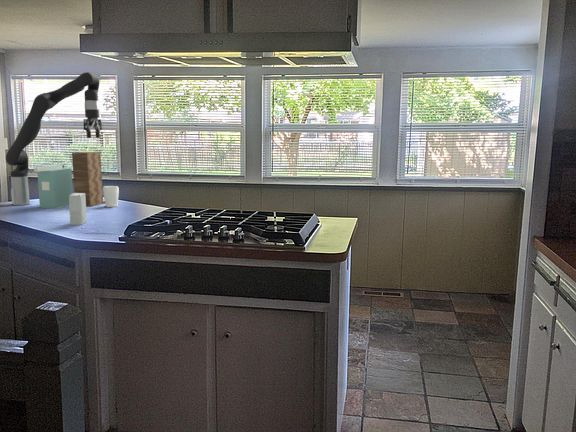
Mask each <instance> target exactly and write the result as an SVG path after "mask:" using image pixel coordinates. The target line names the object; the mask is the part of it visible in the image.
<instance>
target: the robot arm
mask: <svg viewBox="0 0 576 432" xmlns="http://www.w3.org/2000/svg"><path fill="white" fill-rule="evenodd" d="M85 87H87V89H86V90H85V91H84V89H85ZM99 88H100V78H99V76H98V74H96V73H92V72H87V71H86V72H82V74H79V75H78V76H77V77H76V78H74V79H73V80H71V81H69V82H67V83H65V84H64V85H62V86H61V87H59V88H57V89H55V90H51V91H49V92H43V93H41V94H38V95H37V96H36V97H34V100H33V102H32V105H31V108H30V110H29V113H28V115H27V116H26V118H25V120H24V122H23V124H22V126H21V128H20V130H19V132H18V135H17V136H16V138H15V140H14V141H13V143H12V144H11V146H10V147H9V149H8V151H7V152H6V155H5V162H6V163H7V165H9V166H16V168H15V169H14V170H12V171H10V184H11V189H10V197H11V204H12V205H13V206H25V205H26V206H27V205H30V203H31V202H30V190H29V189H30V188H29V177H28V176H29V175H28V174H29V156H28V153H27V152H26V150H24V149H25V148H26V147H28V146H29V145H30V144H32V142H34V141H35V140H36V139H37V137H38V135H39V133H40V130H41V124H42V120H43V117H44V115H45V114H46V113H47V112H48V110H51V109H53V108H54V107H55V106H56V105H58V104H59V103H60V102H62V100H65V99H66V98H70V97H72V96H74V95H76V94H78V93H80V92H82V91H84V114H85V118H86V119H83V130H84V131H85V132H86V138H87V139H91V138H92V129H94V130H95V138H97V139H100V138H101V131H103V124H102V119H99V118H100V104H99V96H98V95H99Z"/></svg>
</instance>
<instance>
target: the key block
mask: <svg viewBox="0 0 576 432" xmlns="http://www.w3.org/2000/svg"><path fill="white" fill-rule="evenodd" d="M36 173H37V185H38V188H37V189H38V201H39V208H42V209H57V208H58V209H59V208H63V207H67V206H69V195H71V194H73V193H74V184H73V169H72V168H71V167H70V168H67V167H66V168H65V167H64V168H63V169H56V170H48V171H39V172H36Z"/></svg>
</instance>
